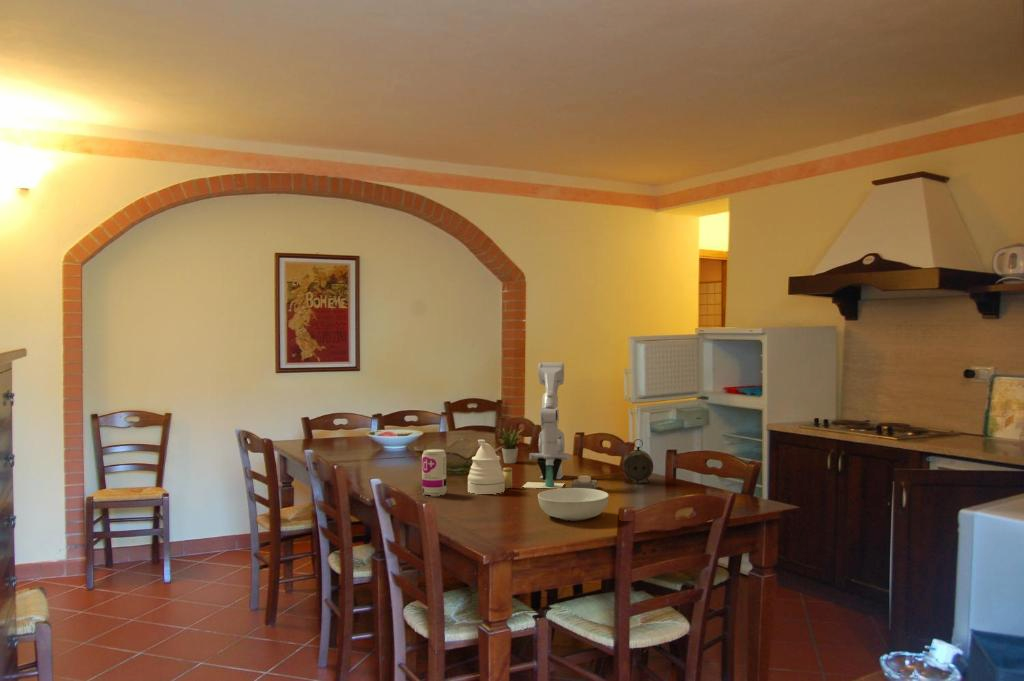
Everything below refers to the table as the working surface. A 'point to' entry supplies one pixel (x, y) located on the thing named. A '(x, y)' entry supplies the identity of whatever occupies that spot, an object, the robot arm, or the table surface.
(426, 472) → the supplement can
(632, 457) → the alarm clock
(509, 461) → the house plant
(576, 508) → the serving bowl
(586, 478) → the button
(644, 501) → the table surface
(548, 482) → the teal marker
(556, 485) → the paper sheet
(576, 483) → the button box
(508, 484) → the ball
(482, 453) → the honey pot
